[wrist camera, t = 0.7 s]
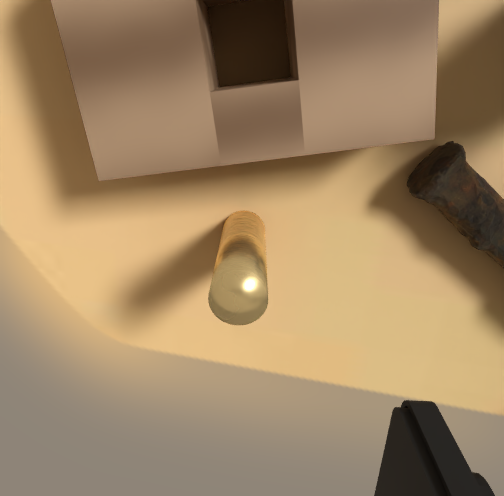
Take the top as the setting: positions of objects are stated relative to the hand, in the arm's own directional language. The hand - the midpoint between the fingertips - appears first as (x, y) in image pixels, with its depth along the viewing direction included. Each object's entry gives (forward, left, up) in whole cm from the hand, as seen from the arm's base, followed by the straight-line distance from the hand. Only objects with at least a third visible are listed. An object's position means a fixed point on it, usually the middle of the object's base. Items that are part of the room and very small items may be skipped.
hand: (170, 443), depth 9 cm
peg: (-4, 0, -22) cm, 23 cm away
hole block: (+8, -2, -22) cm, 24 cm away
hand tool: (-7, -19, -23) cm, 31 cm away
